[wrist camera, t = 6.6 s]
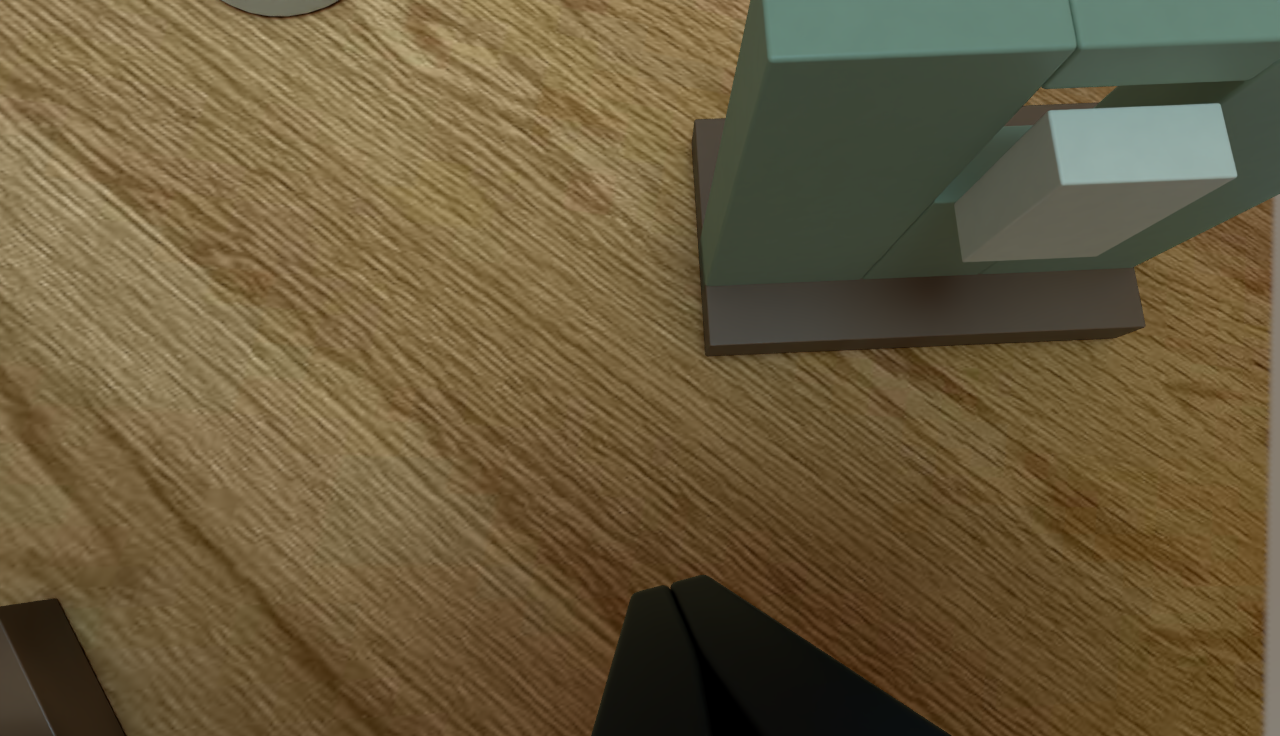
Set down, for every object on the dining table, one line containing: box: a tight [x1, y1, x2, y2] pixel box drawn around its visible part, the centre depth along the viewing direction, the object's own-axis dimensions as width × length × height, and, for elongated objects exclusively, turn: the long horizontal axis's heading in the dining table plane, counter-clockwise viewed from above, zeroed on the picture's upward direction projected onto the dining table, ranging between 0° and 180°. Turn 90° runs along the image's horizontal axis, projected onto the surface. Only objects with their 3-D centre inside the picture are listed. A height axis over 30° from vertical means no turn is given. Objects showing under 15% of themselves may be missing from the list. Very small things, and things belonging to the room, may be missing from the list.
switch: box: [954, 103, 1237, 262], centre depth 15 cm, size 2×3×4 cm, turn 93°
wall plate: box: [692, 0, 1280, 356], centre depth 18 cm, size 8×14×13 cm, turn 92°
